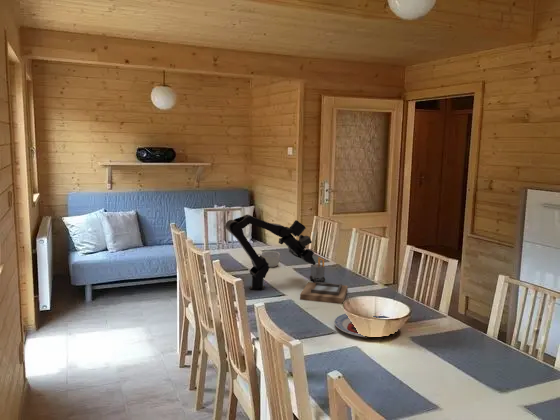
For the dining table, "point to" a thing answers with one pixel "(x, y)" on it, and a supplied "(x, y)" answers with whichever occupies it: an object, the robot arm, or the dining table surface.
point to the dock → (324, 292)
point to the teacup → (271, 257)
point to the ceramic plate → (349, 324)
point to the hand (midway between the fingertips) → (310, 262)
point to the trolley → (318, 271)
